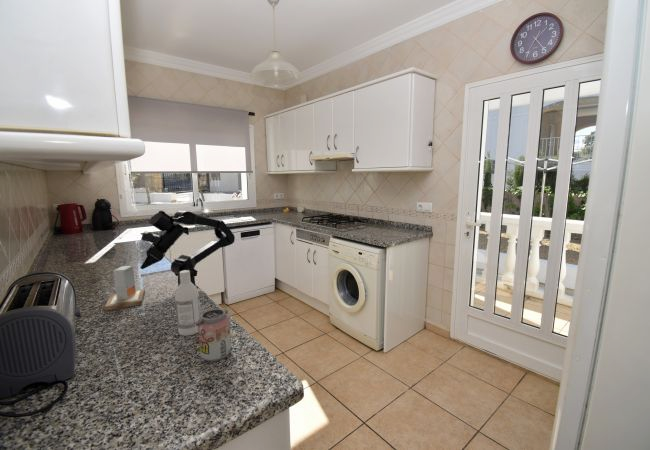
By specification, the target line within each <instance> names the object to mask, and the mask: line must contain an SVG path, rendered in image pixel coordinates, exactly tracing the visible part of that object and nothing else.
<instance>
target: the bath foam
mask: <svg viewBox="0 0 650 450" xmlns="http://www.w3.org/2000/svg"><path fill="white" fill-rule="evenodd" d="M180 282H181V283H180V285H179V287H178V286H177V289H176V290H177V291H176V292H174V293H175V294H174V302H175V312H176V313H175V314H176V323H177V331H178V334H179V335H180V336H185V337H187V336H192V335H193V336H194V335H195V334H199V333H198V326H196V325H195V323H196V322H197V321H198V319H200V315H201V314H202V313H201V312H202V311H201V304H200V303H201V301H200V294H199V290H198V288H196V287H195V286H196V285H195V286H194V285H193V283H192V282H191V279H190V271H189V270H183V271H180Z"/></svg>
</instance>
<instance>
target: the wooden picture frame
mask: <svg viewBox="0 0 650 450" xmlns="http://www.w3.org/2000/svg"><path fill="white" fill-rule="evenodd" d="M135 290H136V294H134V295H132V296H131V297H129V298H127V299H117V297H116V292H115V293H111V294H110V296H109V298H108V300H107V302H106V303H105V305H104V311H109V310H117V309H123V308H127V307H133V306H139V305H143V303H144V302H143V301H144V300H145V299H144V298H145V294H146V289H145V288H140V289H135Z"/></svg>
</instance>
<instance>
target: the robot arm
mask: <svg viewBox="0 0 650 450" xmlns="http://www.w3.org/2000/svg"><path fill="white" fill-rule="evenodd" d="M149 224H150V225H151V226H153V227H154V228H156V229H157V230H159V231H160V232H163V233H161V234H160V235H158V234H156V233H153V232H150V231H144V232H143V233H142V235H141V238H140V240H141V241H143V242H145V241H146V242H149V243H151V245H150V246H149V248H148V249H147V250H146V258H145V259H144V261H143V263H142V264H141V266H140V269H141V270H144V269H146V268H149V267H150V266H152V265H154V264H157V263H159V262H161V261H162V260H163V259H164V258H165V254H166V253H167V252H168V250H169V249H170V248H171V247H172V246H173V245H175V243H176V242H177V241H178V240H179V239H180V237H182V235H183V234H185V235H187V236H189V235H190V233H189V228H188V227H187V226H191V225H192V226H194V225H199V226H204V227H209V228H213V230H214V231H213V232H214V235H215V237H214V238H213V240H212V241H210V242H209V243H207V244H205V245H204V246H202V247H200V248H199V249H198V250H196V251H194V252H193V253H191V254H190V255H184V254H181V255H179V256H178V257H177V258H174V259H173V261H172V262H171V264H170V271H171V272H172V273H173V274H174V275H175V277H177V285H178V286H177V288H178V287H179V285H180V283H181V282H180V271H183V270H189V271H190V279H191V282H192V283H193V285H194V286H195V287H196V288H197V289H198V288H199V286H198V285H196V278H195V277H197V275H198V270H197V269H195V268H196V266H197V264H198V263H200V262H202V261H203V260H204V259H206V258H208V256H210V255H212V254H213V253H215V252H216V251H218V250H219V249H221V248H225V247H228V246H230V245H232V244H234V243H235V239H236V238H235V237H236V236H235V235H234V233H233V232H232V230H231V229H230V228H229V227H228V226H227V224H226V223H225V222H224V221H223V220H222V219H213V218H210V217H209V218H208V217H204V216H199V215H198V214H196V213H193V212H191V211H189V210H188V211H187V210H177V211H176V212H175V213H174V214H172V215H168V214H167V213H166V212H165V211H164V210H159V211H158V212H156V213H155V214H153V216H151V217H150V219H149ZM183 225H186V226H183ZM176 291H177V289H176Z"/></svg>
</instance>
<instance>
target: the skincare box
mask: <svg viewBox="0 0 650 450" xmlns="http://www.w3.org/2000/svg"><path fill="white" fill-rule="evenodd" d="M112 271H113V279H114V287H115V293H116V297H117V299H127V298H129V297H131V296H132V295H134V294H136V290H137V289H136V284H135V282H136V281H135V274H134V273H135V272H134V266H133V265H123V266H120V267H118V268H116V269H114V270H112Z"/></svg>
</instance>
